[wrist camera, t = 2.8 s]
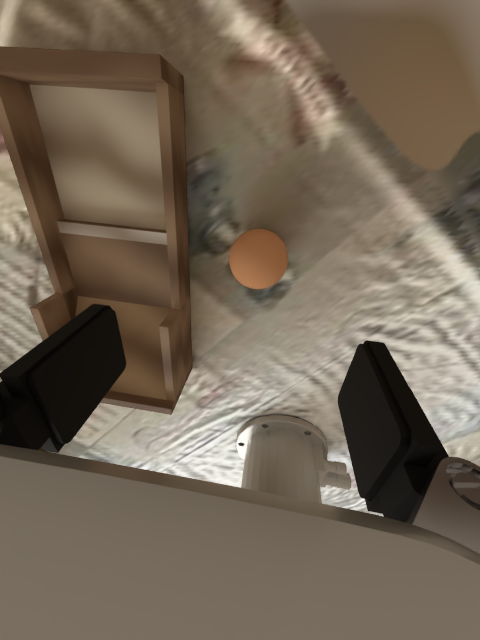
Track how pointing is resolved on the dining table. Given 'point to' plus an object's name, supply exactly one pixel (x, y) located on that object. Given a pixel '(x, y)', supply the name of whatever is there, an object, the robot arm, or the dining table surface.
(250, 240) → the ball
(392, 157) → the dining table surface
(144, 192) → the lane
